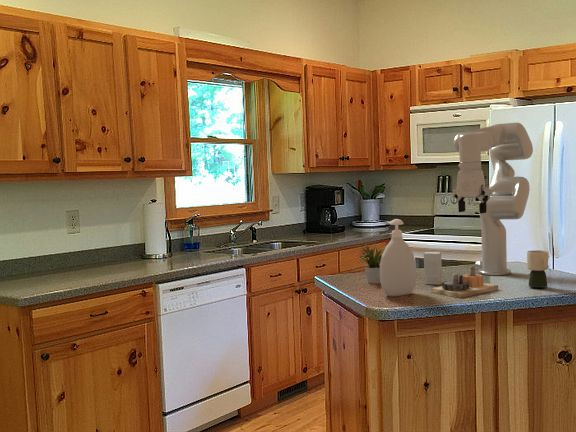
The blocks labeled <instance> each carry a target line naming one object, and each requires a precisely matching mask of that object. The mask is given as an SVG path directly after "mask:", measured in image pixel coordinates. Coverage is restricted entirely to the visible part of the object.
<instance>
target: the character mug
mask: <svg viewBox="0 0 576 432" xmlns="http://www.w3.org/2000/svg"><path fill="white" fill-rule="evenodd" d="M526 267H527V270H529V271H530V272H529V278H528V287H530V288H539V289H540V288H541V289H542V288H548V279H547V274H546V273H547V272H546V270H548V269H549V267H550V265H549V251H548V250H537V249H535V250H528V251H526Z"/></svg>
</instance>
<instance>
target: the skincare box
mask: <svg viewBox="0 0 576 432" xmlns="http://www.w3.org/2000/svg"><path fill="white" fill-rule="evenodd" d="M442 268H443V264H442V252H441V251H425V252H423V269H424V270H423V273H424V285H434V286H435V285H437V286H441V285H442V283H443V269H442Z"/></svg>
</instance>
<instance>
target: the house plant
mask: <svg viewBox="0 0 576 432" xmlns="http://www.w3.org/2000/svg"><path fill="white" fill-rule="evenodd" d="M356 246H358V247H357V248H361V249H362V250H361V249H359V251H360V252H362V253H363V255H364V256H361V257H360V259H361V260H362V261H363V263H365V264H367V265H365V266H364V269H365V275H366V280H367V283H369V284H381V282H380V263H381V257H382V254H383V253H382V252H384V250H385V248H386V246H384V247H383V248H381V249H379V246H378V243H377V245H375V244H373V247H372V249H370V248H369V245H368V244H365V246H364V247H363V246H359V245H358V244H356Z"/></svg>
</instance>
